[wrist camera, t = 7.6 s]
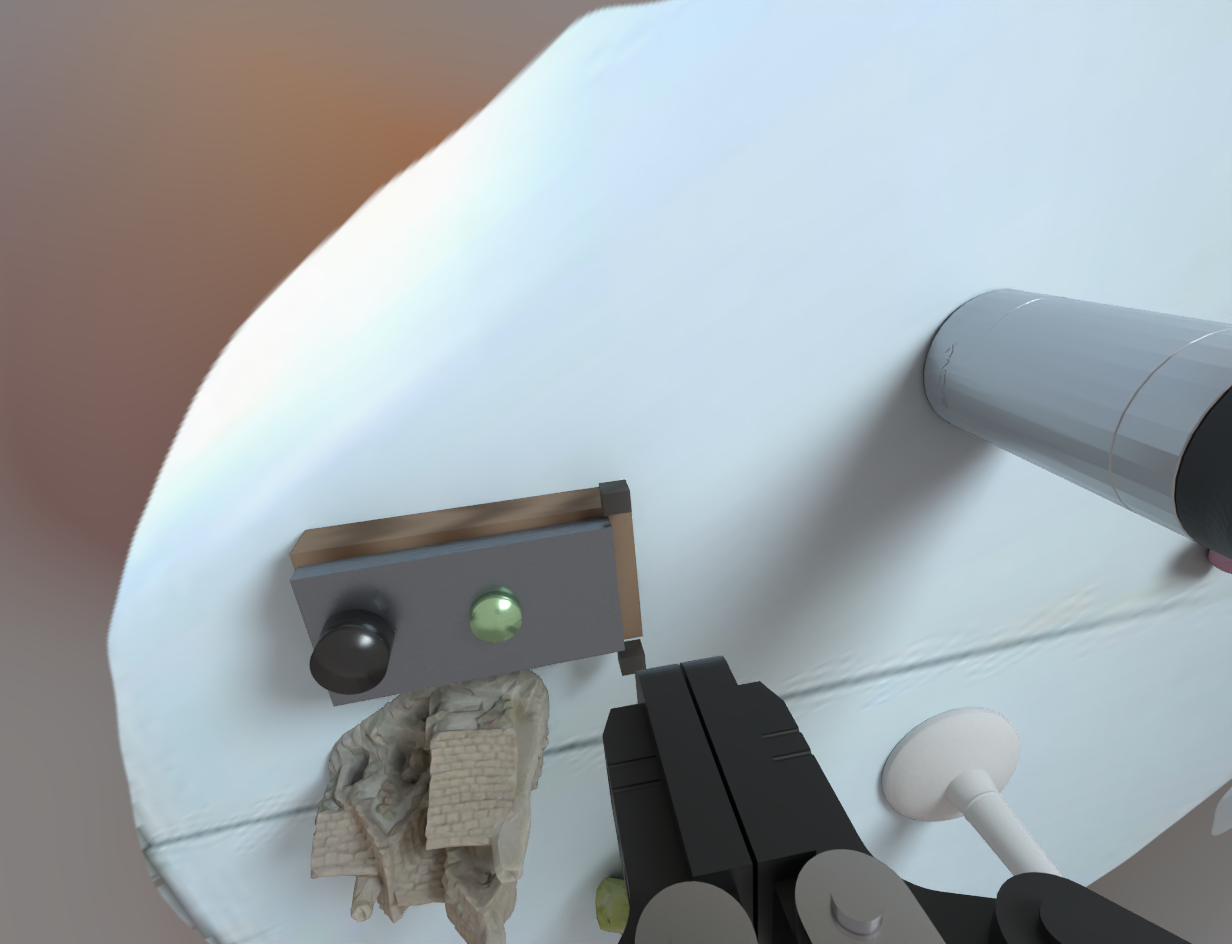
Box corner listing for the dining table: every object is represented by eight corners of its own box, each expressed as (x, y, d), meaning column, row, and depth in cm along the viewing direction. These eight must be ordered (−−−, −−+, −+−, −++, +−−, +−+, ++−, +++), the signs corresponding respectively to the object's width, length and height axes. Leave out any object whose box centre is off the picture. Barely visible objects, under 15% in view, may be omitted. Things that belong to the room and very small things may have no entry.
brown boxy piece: (620, 460, 40) (633, 490, 36) (636, 628, 46) (649, 670, 41) (297, 506, 38) (271, 543, 34) (353, 677, 44) (336, 726, 39)
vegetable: (568, 846, 50) (756, 869, 44) (629, 801, 62) (785, 815, 56) (571, 1025, 47) (772, 1073, 42) (634, 943, 59) (799, 972, 53)
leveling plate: (607, 515, 38) (619, 546, 35) (620, 635, 42) (632, 675, 38) (297, 566, 36) (276, 605, 32) (339, 689, 39) (324, 736, 36)
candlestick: (860, 811, 57) (1179, 1362, 30) (916, 701, 53) (1349, 1226, 26) (977, 817, 60) (1365, 1323, 33) (1039, 712, 56) (1546, 1195, 28)
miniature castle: (571, 669, 46) (575, 870, 32) (523, 823, 52) (509, 1047, 38) (350, 633, 43) (253, 836, 30) (327, 800, 49) (237, 1032, 36)
